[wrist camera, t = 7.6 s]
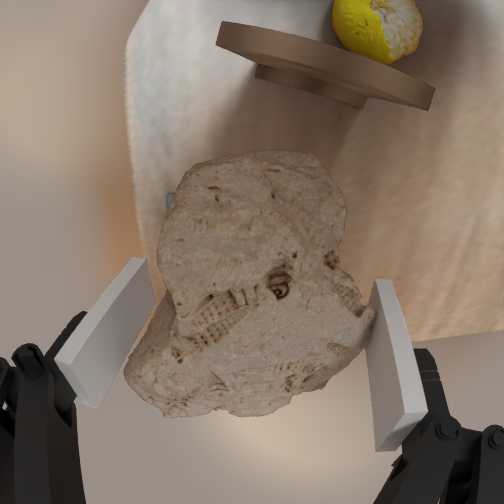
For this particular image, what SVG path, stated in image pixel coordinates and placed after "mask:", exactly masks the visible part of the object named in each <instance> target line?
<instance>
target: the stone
mask: <svg viewBox="0 0 504 504" xmlns="http://www.w3.org/2000/svg"><path fill="white" fill-rule="evenodd" d="M346 214H347V210H346V206H345V200H344V197H343V194H342V192H341V191H340V189H339V188H338V187H337V186H336V185H335V183H334V181H333V180H332V178H331V176H330V175H329V173H328V171H327V170H326V168H325V167H324V165H323V164H322V162H321V161H320V160H319V158H317V157H316V156H314V155H312V154H310V153H303V152H292V151H287V150H262V151H261V152H257V151H253V152H249V153H246V154H243V155H239V156H234V155H232V154H231V155H228V156H224V157H222V158H219V159H216V160H210V161H206V162H201V163H197V164H195V165H194V166H193V167H192V168H191V169H190V170H188V171H187V172H185V175H184V177H183V179H182V181H181V182H180V184H179V186H178V187H177V190H176V192H175V195H174V197H173V200H172V202H171V204H170V206H169V209H168V212H167V215H166V218H165V221H164V224H163V226H162V229H161V234H160V240H159V245H158V249H157V262H158V267H159V269H160V272H161V274H162V277H163V281H164V284H165V286H166V288H167V290H166V294H165V297H164V298H163V300H162V302H161V303H160V305H159V307H158V308H157V310H156V312H155V314H154V316H153V318H152V319H151V321H150V323H149V326H148V329H147V332H146V333H145V335H144V336H143V337H142V339H141V341H140V342H139V344H138V345H137V347H136V348H135V349H134V351H133V353H132V354H131V355H130V356H129V361H128V363H127V365H126V366H125V368H124V376H125V380H126V381H127V383H128V385H129V386H130V387H131V388H132V389H133V390H134V391H135V392H136V393H137V394H138V395H139V396H140V397H141V398H142V399H143V400H144V401H146V402H148V403H150V404H151V405H154V406H156V407H157V408H159V409H160V410H161V411H162V412H163V416H164V417H167V418H175V417H193V416H199V415H205V414H207V413H210V411H212V410H213V409H214V410H216V411H217V410H218V409H219V408H220V409H222V410H228V412H229V414H232V415H235V416H238V417H250V416H264V415H268V414H271V413H273V412H275V411H276V410H277V409H279V408H281V407H283V406H285V405H287V404H289V403H290V400H291V397H292V396H294V395H297V394H300V393H302V392H310V391H315V390H317V389H323V388H324V387H325V385H326V384H327V382H328V380H329V379H330V378H331V377H332V376H333V375H335V374H337V373H338V372H340V371H341V370H343V369H344V368H345V367H347V366H348V365H349V364H350V362H351V361H352V360H353V359H354V358H355V357H356V356H357V355H358V354H359V353H360V352H361V351H362V350H363V349H364V348H365V346H366V344H367V342H368V340H369V338H370V336H371V333H372V324H373V322H374V320H375V315H376V310H375V309H374V308H372V307H370V306H368V305H361V302H360V298H361V297H362V296H361V294H360V291H359V288H358V287H357V286H356V285H355V284H354V281H353V279H352V277H351V276H350V275H349V274H347V273H346V272H344V271H343V270H341V269H340V268H339V267H338V265H339V263H340V260H339V251H338V243H340V242H341V236H342V234H343V232H344V228H345V220H346Z"/></svg>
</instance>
